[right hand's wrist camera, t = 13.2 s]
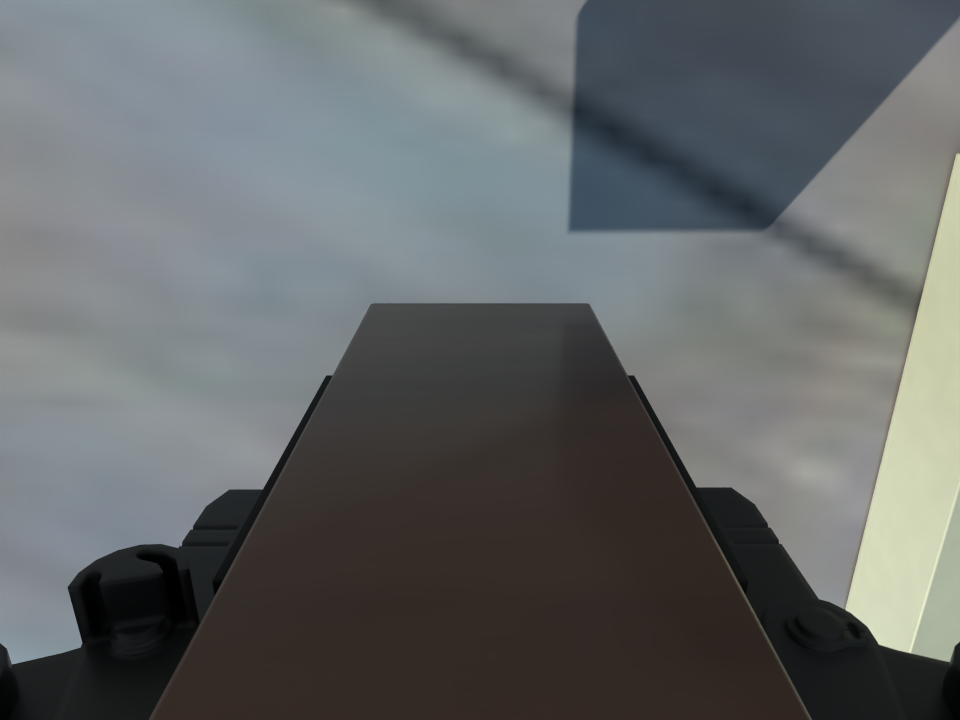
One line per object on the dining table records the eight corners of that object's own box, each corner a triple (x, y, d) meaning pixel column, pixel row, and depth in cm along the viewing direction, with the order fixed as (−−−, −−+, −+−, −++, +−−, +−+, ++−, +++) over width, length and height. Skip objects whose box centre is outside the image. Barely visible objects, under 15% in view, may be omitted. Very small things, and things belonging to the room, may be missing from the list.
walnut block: (370, 302, 15) (76, 844, 4) (589, 302, 15) (885, 842, 4) (381, 492, 17) (196, 1227, 6) (578, 492, 17) (762, 1226, 6)
